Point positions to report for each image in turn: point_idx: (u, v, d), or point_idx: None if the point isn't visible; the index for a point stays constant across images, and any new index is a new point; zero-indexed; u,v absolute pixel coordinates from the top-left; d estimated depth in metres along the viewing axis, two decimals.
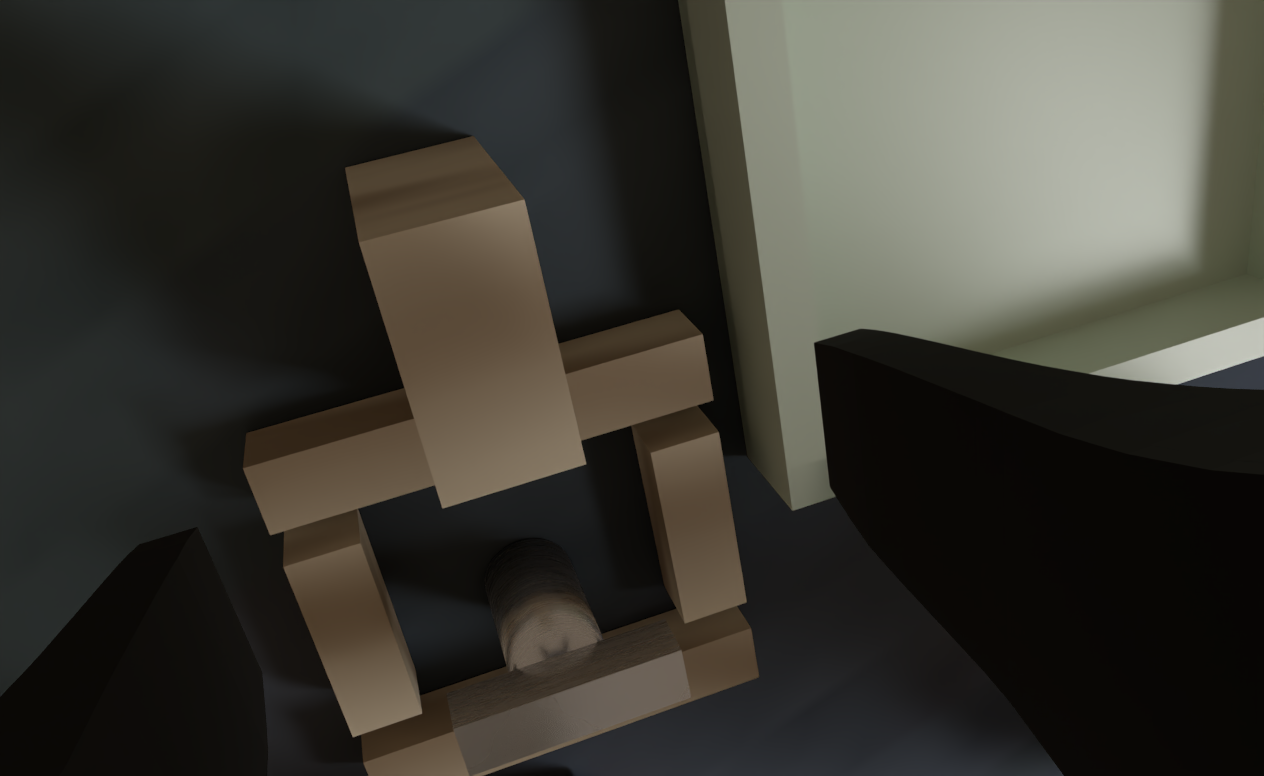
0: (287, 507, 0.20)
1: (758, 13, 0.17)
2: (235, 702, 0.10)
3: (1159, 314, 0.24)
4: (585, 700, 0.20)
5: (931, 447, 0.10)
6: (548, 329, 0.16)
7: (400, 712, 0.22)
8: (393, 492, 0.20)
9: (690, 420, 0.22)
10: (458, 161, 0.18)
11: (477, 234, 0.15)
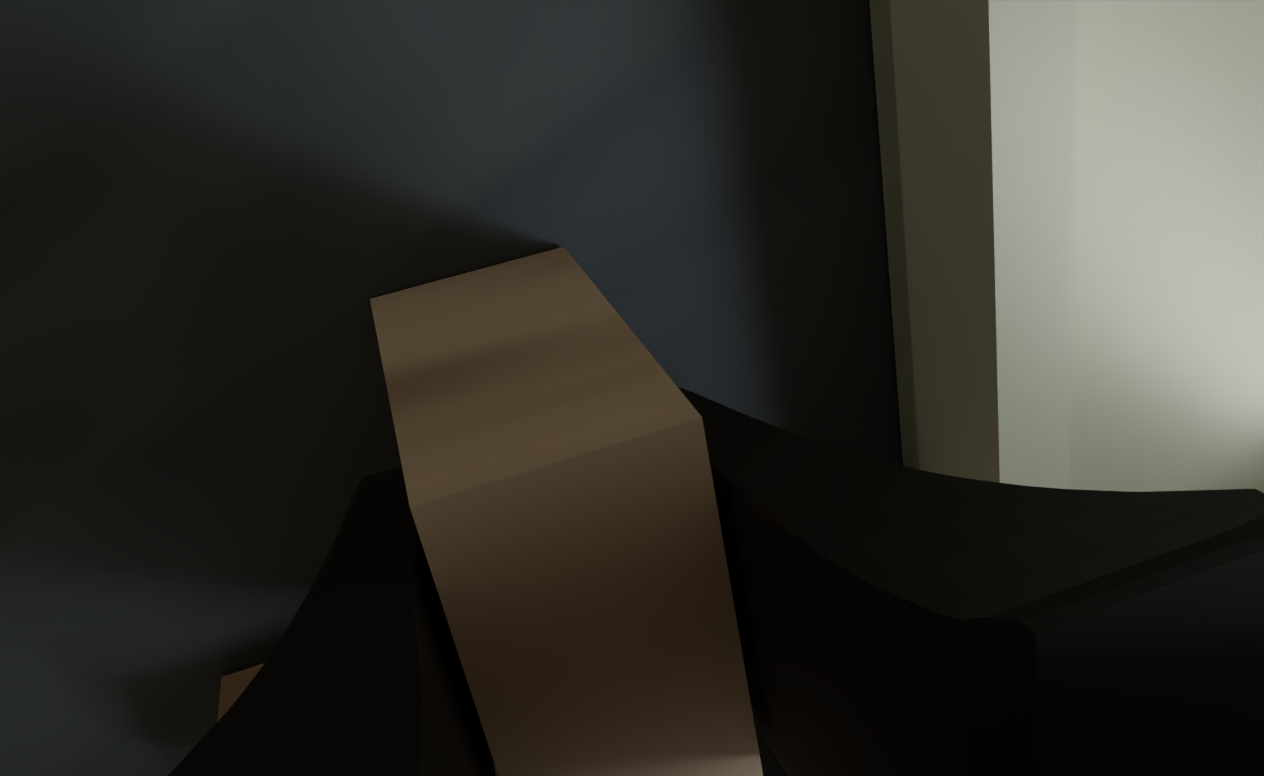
0: None
1: (1038, 70, 0.11)
2: None
3: None
4: None
5: None
6: (726, 619, 0.09)
7: None
8: None
9: None
10: (552, 303, 0.11)
11: (619, 479, 0.08)
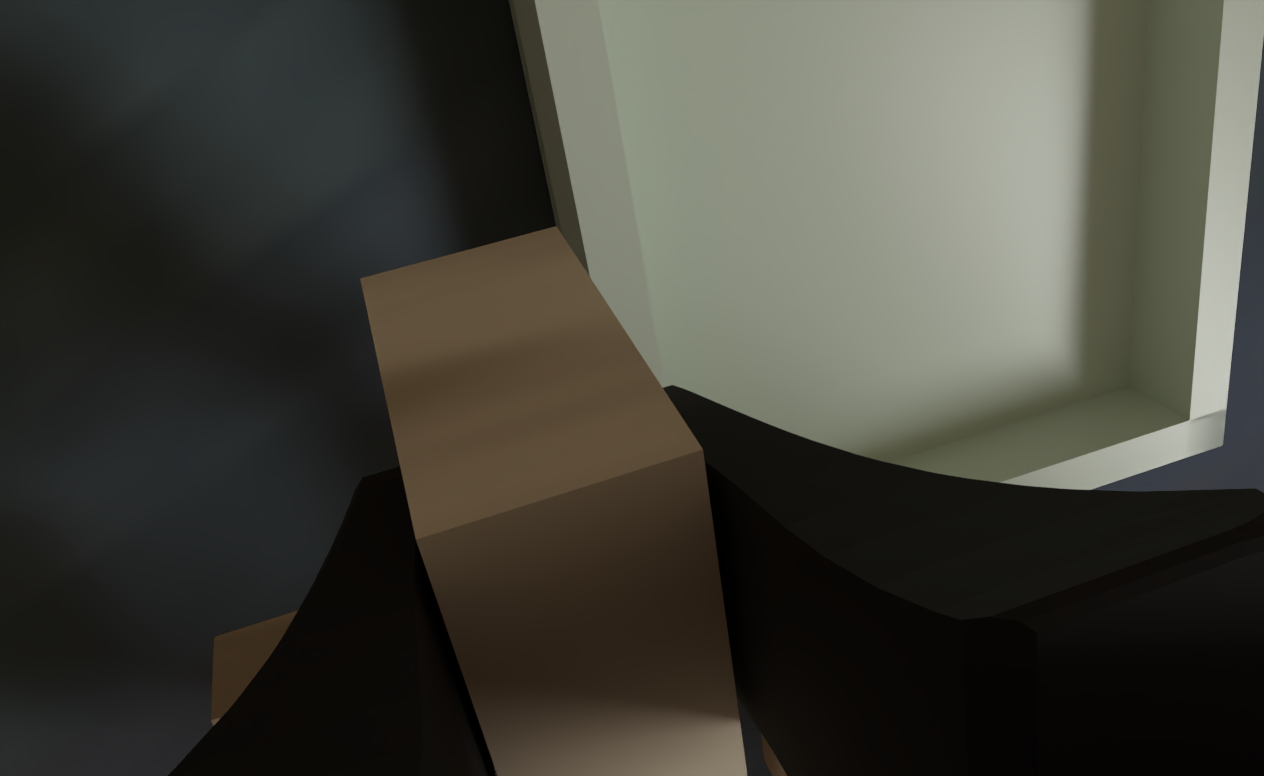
0: None
1: (602, 172, 0.18)
2: None
3: (1037, 429, 0.25)
4: None
5: None
6: (717, 628, 0.10)
7: None
8: None
9: None
10: (548, 297, 0.11)
11: (619, 507, 0.09)
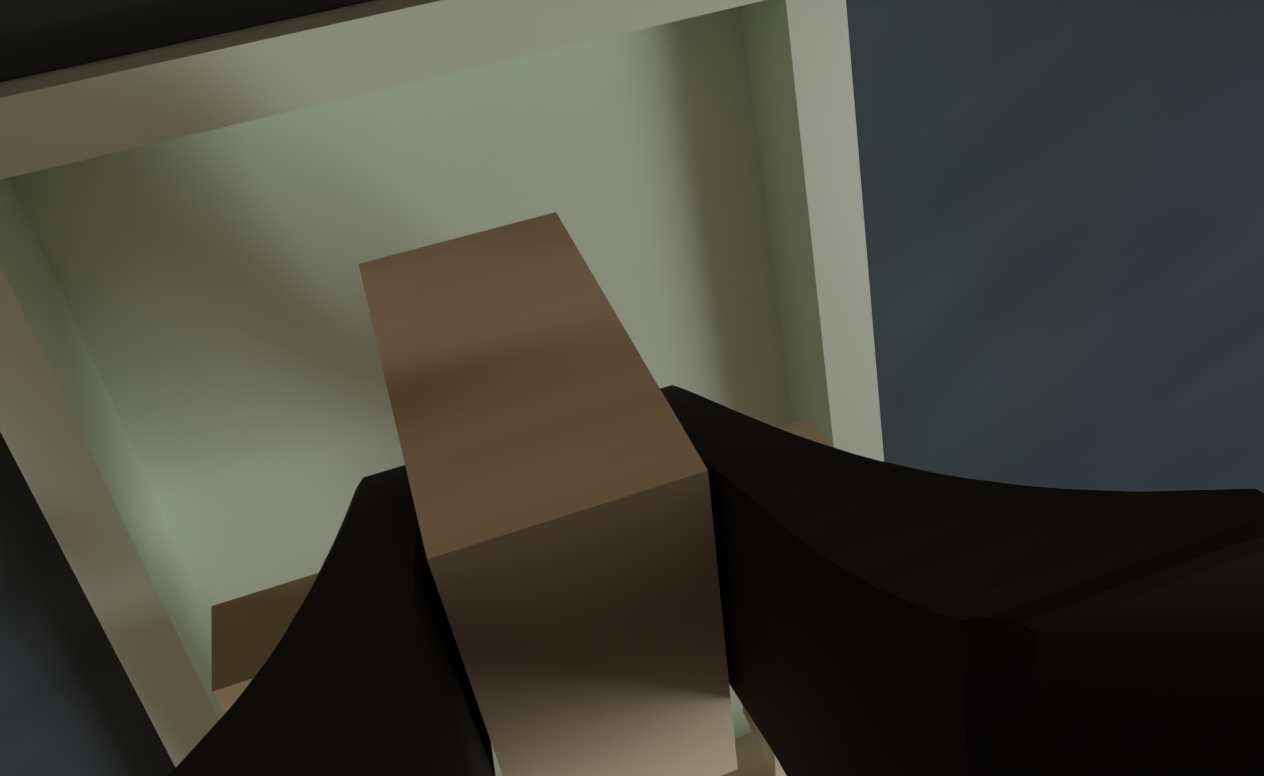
0: None
1: (159, 661, 0.18)
2: None
3: None
4: None
5: None
6: (714, 631, 0.10)
7: None
8: None
9: None
10: (550, 293, 0.11)
11: (626, 525, 0.09)
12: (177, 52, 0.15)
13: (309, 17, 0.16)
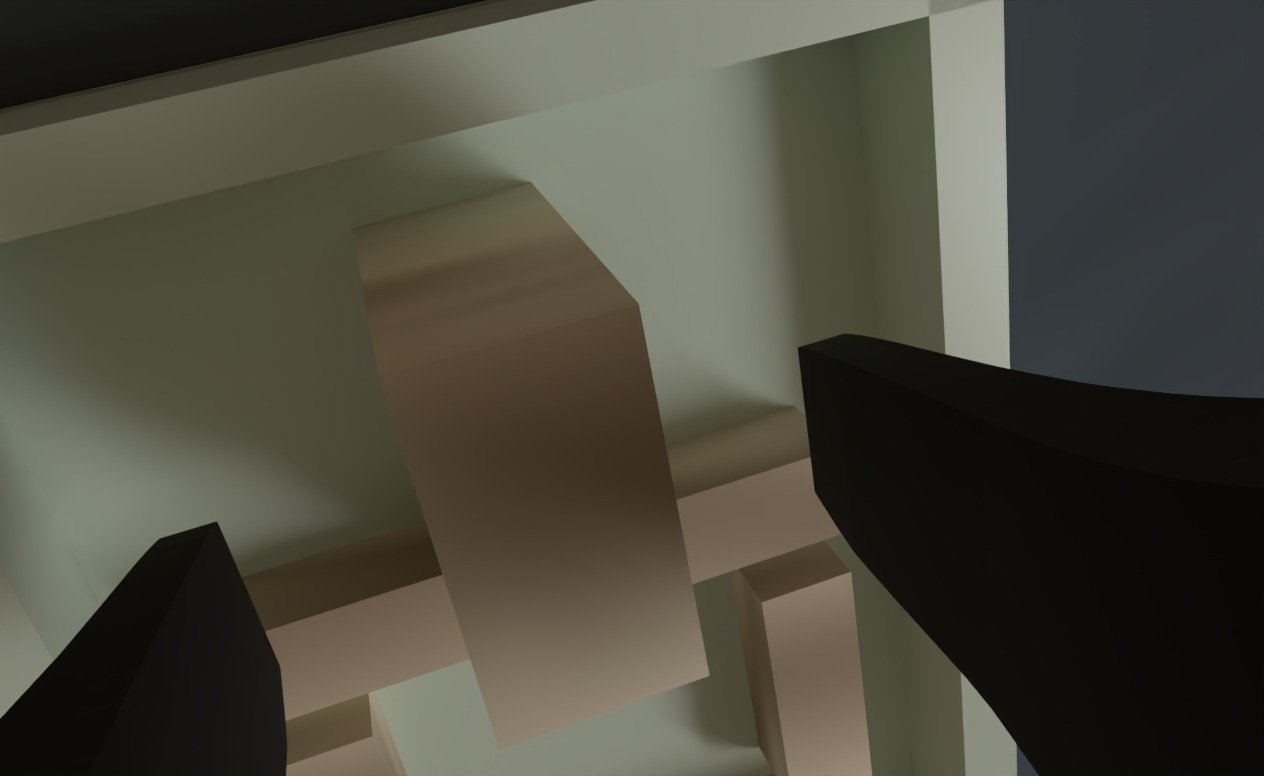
0: None
1: None
2: (256, 695, 0.10)
3: None
4: None
5: (912, 453, 0.10)
6: (665, 493, 0.10)
7: None
8: (418, 669, 0.15)
9: (808, 551, 0.17)
10: (517, 225, 0.12)
11: (565, 358, 0.10)
12: (136, 93, 0.11)
13: (311, 44, 0.12)
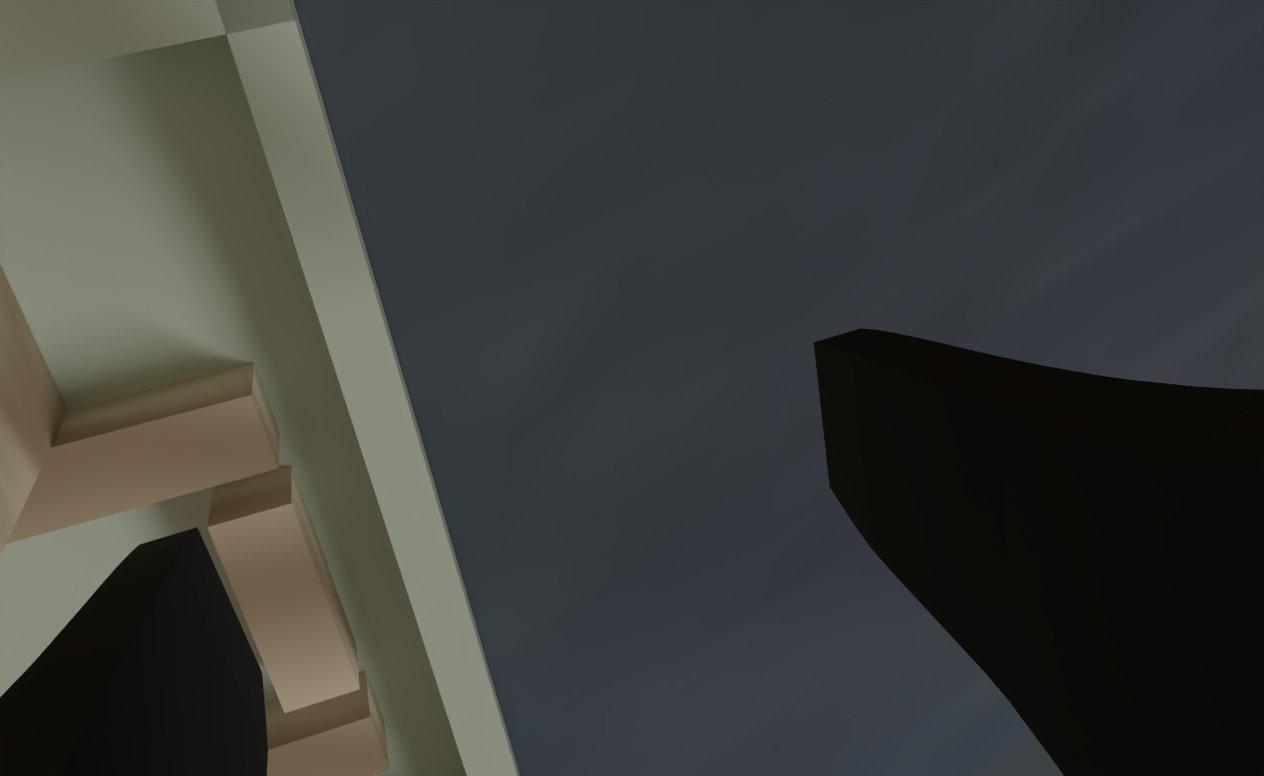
0: None
1: None
2: (235, 702, 0.10)
3: None
4: None
5: (931, 447, 0.10)
6: None
7: None
8: None
9: (272, 488, 0.20)
10: None
11: None
12: None
13: None
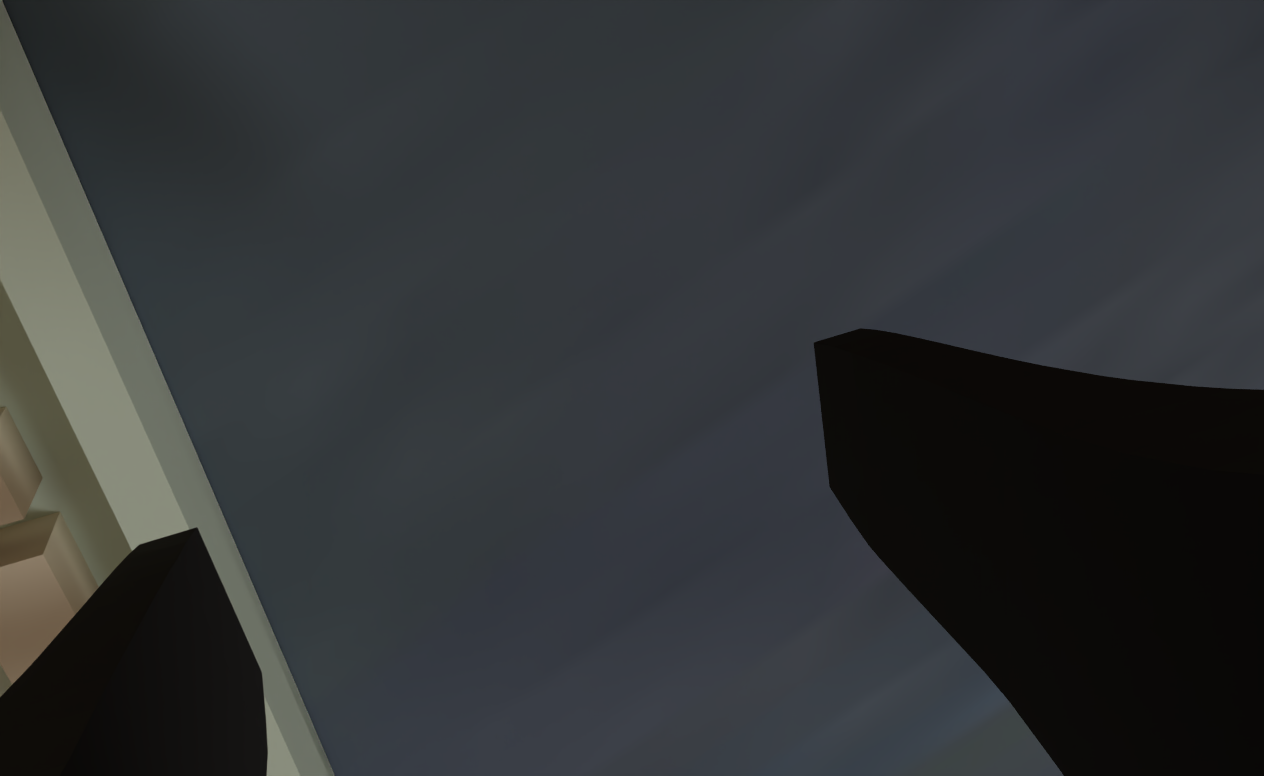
0: None
1: None
2: (235, 702, 0.10)
3: None
4: None
5: (931, 447, 0.10)
6: None
7: None
8: None
9: (31, 536, 0.19)
10: None
11: None
12: None
13: None
